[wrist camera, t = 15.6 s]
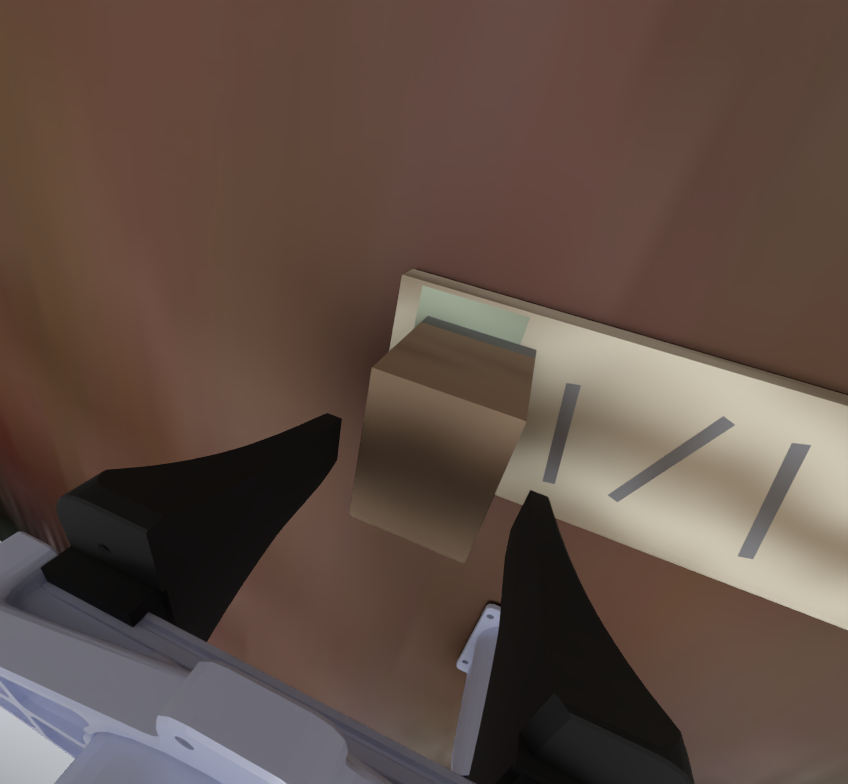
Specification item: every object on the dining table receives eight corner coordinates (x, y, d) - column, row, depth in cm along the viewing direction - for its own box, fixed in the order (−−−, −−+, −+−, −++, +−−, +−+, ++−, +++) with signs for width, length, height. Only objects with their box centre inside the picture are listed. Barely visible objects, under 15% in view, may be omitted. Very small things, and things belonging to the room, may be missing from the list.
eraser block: (488, 468, 20) (464, 564, 15) (400, 435, 20) (349, 515, 15) (536, 350, 16) (526, 421, 11) (427, 315, 17) (371, 367, 12)
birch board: (909, 631, 18) (936, 664, 17) (382, 433, 23) (372, 448, 21) (1159, 485, 13) (1223, 517, 12) (413, 268, 18) (402, 274, 16)
